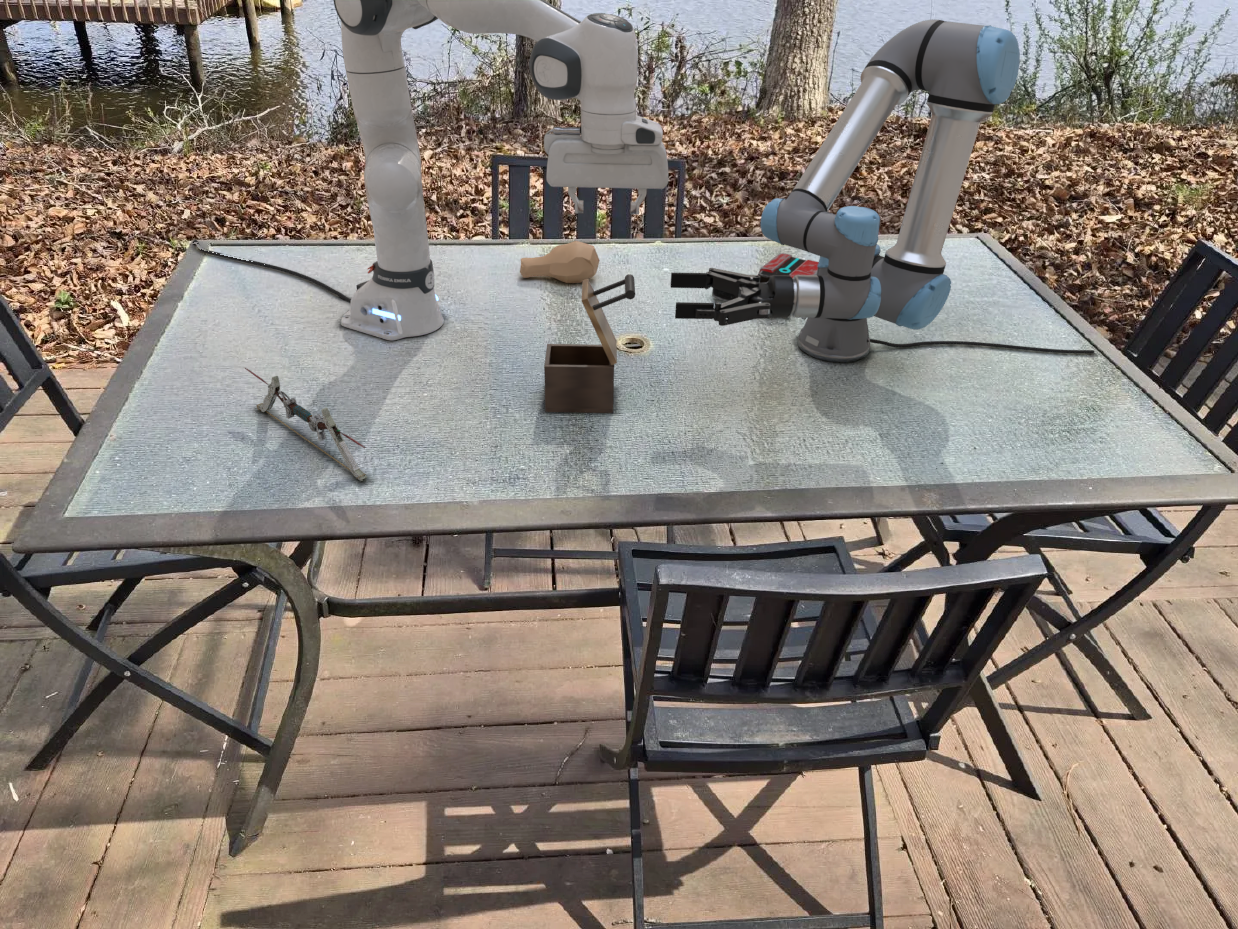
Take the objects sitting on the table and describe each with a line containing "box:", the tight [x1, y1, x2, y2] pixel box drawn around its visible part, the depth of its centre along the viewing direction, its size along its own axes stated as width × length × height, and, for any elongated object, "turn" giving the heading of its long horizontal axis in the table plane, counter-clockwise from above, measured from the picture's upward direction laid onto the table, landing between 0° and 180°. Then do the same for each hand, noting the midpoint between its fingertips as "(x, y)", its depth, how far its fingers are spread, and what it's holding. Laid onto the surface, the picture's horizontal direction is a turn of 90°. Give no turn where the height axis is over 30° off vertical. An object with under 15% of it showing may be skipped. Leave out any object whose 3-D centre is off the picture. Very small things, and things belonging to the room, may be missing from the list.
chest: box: [543, 343, 615, 414], centre depth 166 cm, size 13×9×10 cm
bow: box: [244, 367, 368, 482], centre depth 151 cm, size 39×2×10 cm, turn 47°
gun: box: [711, 252, 819, 302], centre depth 215 cm, size 4×31×19 cm
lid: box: [580, 274, 636, 366], centre depth 159 cm, size 14×9×9 cm
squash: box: [519, 240, 600, 284], centre depth 218 cm, size 11×20×9 cm, turn 90°
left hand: (606, 212), depth 149 cm, fingers open, 8 cm apart
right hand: (672, 294), depth 157 cm, fingers open, 13 cm apart
